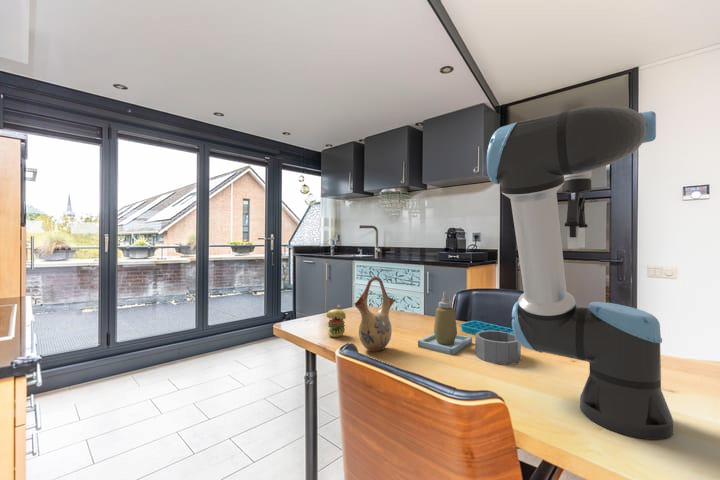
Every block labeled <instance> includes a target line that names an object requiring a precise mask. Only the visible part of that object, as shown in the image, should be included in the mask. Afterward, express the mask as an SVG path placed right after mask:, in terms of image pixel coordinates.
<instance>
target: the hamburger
mask: <svg viewBox="0 0 720 480" xmlns="http://www.w3.org/2000/svg"><path fill="white" fill-rule="evenodd" d="M336 306H337V308H334V309H330V310H328V311H327V314H326V318H328V322H327V324H328V325H327V327H328V329H327V334H328V336H329V337H332V338H339V337H341V336H343V335H344V333H345V326H346V325H345V321H344V320H346V318H347V317H346V312H344V311H343V310H341V309H338V308H340V307H341V305H340V304H337V305H336Z"/></svg>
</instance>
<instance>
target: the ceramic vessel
mask: <svg viewBox="0 0 720 480" xmlns="http://www.w3.org/2000/svg"><path fill="white" fill-rule="evenodd" d="M374 281H377V282H378V283H379V285H380V288H381V289H380V290H381V295H382V304H381V306H380V308H379V309H378V310H377V311H375V312H372V311H370V309H369V307H368V297H369V296H368V295H369V292H370V287H371V285H372V282H374ZM395 302H396V299H394V298H391V297H389V296H388V294H387V292H386V289H385V285H384V283H383V280H382V279H381V278H380V277H377V276H374V277H371V278H370V279H369V280H368V282H367V284H366V286H365V289H364V291H363V293H362V294H361V296H360V297H359V298H358V300H357V301H355V302H353V303H354V304H353V306H354V307H355V308H356V309H357V310H358V311H359V313H360V314H361V322H360V324H359V327H358V329H359V330H358V336H359V337H358V338H359V340H360V343H361V345H362V346H363V348H365V349H366V350H367V351H369V352H381V351H382V350H384V349H385V348H386V347H387V345H388V344H389V343H390V341H391V337H392V334H393V332H392V331H393V328H392V323H391V320H390V317H389V316H390V315H389V314H390V309H391V308H392V306H393V305H394V304H395Z"/></svg>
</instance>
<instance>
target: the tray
mask: <svg viewBox="0 0 720 480" xmlns="http://www.w3.org/2000/svg"><path fill="white" fill-rule="evenodd" d="M472 343H473V337H472V336H465V335H461V334H457V335H456V338H455V341H454V344H450V345H445V344H440V343H438V342H437V340H436V337H435V334H434V333H432V334H430V335H428V336H426V337H424V338H422V339H419V340H417V347H418V348H421V349H422V348H423V349H426V350H430V351H435V352H439V353H443V354H447V355H450V356H454V355H455V354H457V353H458V352H461V351H462V350H463V349H465V348H467V347H468V346H470V345H472Z"/></svg>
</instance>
